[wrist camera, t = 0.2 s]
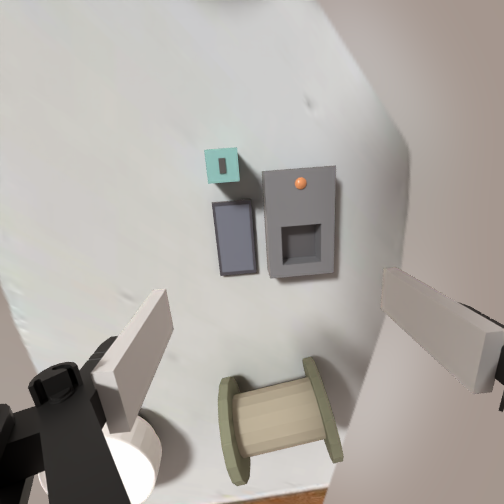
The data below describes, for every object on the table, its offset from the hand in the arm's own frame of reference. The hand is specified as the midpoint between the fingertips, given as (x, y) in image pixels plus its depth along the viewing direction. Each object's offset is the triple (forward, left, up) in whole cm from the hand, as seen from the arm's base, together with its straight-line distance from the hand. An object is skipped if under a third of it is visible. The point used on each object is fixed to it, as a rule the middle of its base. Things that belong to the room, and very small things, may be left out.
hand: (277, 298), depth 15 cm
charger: (-9, -4, -27) cm, 28 cm away
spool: (+32, +1, -27) cm, 42 cm away
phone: (+2, -3, -27) cm, 27 cm away
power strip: (0, +7, -27) cm, 28 cm away
